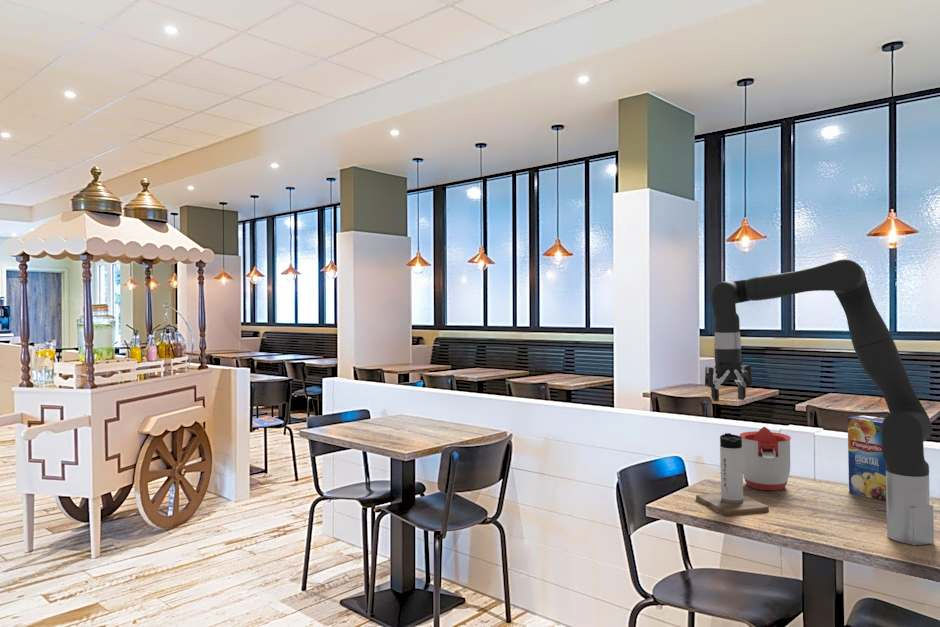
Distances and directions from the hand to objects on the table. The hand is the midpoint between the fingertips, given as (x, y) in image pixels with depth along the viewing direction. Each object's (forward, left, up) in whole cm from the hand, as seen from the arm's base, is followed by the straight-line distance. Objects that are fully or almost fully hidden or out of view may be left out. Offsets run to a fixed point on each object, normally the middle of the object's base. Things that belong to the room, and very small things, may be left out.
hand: (728, 400), depth 195 cm
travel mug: (0, 0, -31) cm, 31 cm away
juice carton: (-3, -48, -32) cm, 58 cm away
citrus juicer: (+14, -22, -32) cm, 42 cm away
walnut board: (0, 0, -32) cm, 32 cm away
